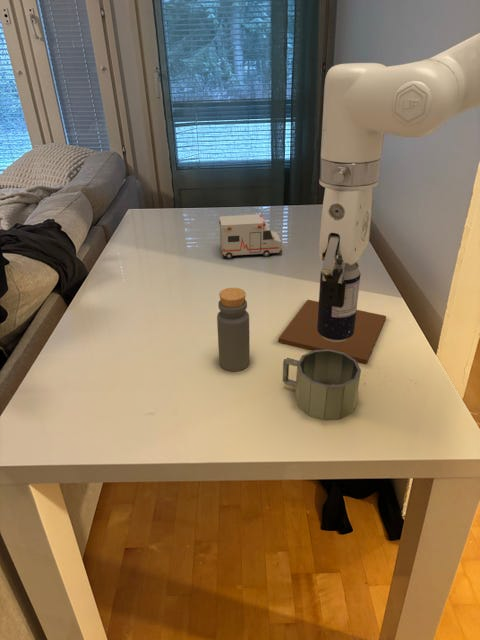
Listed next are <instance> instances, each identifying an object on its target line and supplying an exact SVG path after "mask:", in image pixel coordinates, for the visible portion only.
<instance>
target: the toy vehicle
mask: <svg viewBox="0 0 480 640" xmlns="http://www.w3.org/2000/svg"><path fill="white" fill-rule="evenodd" d="M218 218H219V219H218V223H219V224H218V225H219V240H220V249H221V254H222V257H225V259H227V260H232V258H233V256H244V255H245V256H247V255H248V256H249V255H263V257H265V258H267V257H270V255H271V254H280V253H281V254H282V253H283V249H282V240H281V239H280V236H279V234H278V232H277V231H273V230H271V228H270V226H269V223H268V222H267V220H265V219H264V217H263V215H262V214H259V213H257V214H242V215H241V214H239V215H220V216H219V217H218Z"/></svg>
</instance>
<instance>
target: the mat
mask: <svg viewBox="0 0 480 640" xmlns="http://www.w3.org/2000/svg"><path fill="white" fill-rule="evenodd" d="M318 307H319V301H318V300H317V301H316V300H311V299H307V300H306V301H305V302H304V304H303V305H302V306H301V308H300V309H299V310H298V312H296V314H295V316H294V317H293V318H292V320H291V321H290V322H289V324H288V325H287V326H286V328H285V329H284V330H283V331H282V333H281V334H280V335H279V336H278V343H281V344H283V345H284V344H285V345H289V346H291V347H296V348H299V349H300V348H301V349H305V350H308V351H313V350H325V349H329V350H330V349H331V350H335V351H339V352H343V353H346V354H347V355H349V356H350V357H352V358H353V359H355V360H356V361H357V363H359V364H360V363H361V364H364V365H367V363H368V361H369V359H370V357H371V354H372V353H373V350H374V348H375V345H376V344H377V340H378V338H379V336H380V334H381V332H382V329H383V327H384V325H385V322H386V320H387V315H384V314H379V313H375V312H370V311H364V310H360V309H357V311H356V320H355V329H354V334H353V335H352V336H351V337H349V338H348V339H347V340H345V341H342V342H331V341H328V340H326V339H324V338H323V337H322V336H321V335H320V334H319V333H318V331H317V323H318Z"/></svg>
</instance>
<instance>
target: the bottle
mask: <svg viewBox="0 0 480 640" xmlns="http://www.w3.org/2000/svg"><path fill="white" fill-rule="evenodd" d="M246 296H247V293H246V291H245V290H244V289H242V288H239V287H228V288H223V289H222V290H220V291H219V292H218V297H219V301H218V302H217V303H218V310H219V312H217V315H216V323H217V325H216V326H217V345H218V362H219V366H220V367H221V368H222V369H223V370H226V371H229V372H240V371H242V370H245V369H246V368H247V367H248V366H250V361H251V360H250V359H251V357H250V356H251V355H250V353H251V351H250V349H251V348H250V345H251V343H250V341H251V339H250V314H249V312H248V311H247V309H248V302H247V300H246Z"/></svg>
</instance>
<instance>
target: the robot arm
mask: <svg viewBox="0 0 480 640" xmlns="http://www.w3.org/2000/svg"><path fill="white" fill-rule="evenodd" d="M322 105H323V107H322V125H321V144H320V162H319V180H318V184H319V185H320V186H321V187H323V188H324V194H323V202H322V210H321V220H320V228H319V229H320V230H319V242H318V243H319V244H318V256H319V258H320V260H321V261H323V262H322V267H321V270H322V271H323V278H322V280H323V281H322V296H321V303H322V304H324V305H329V306H334V307H339V308H342V307H343V305H344V298H345V287H346V281H344V276H345V270H346V264H347V263H349V265H353V264H354V263H356V262H357V263H358V260H359V259H360V258H361V256H362V254H363V253H364V251H365V250H366V248H367V247H368V244H369V243H370V234H371V220H372V219H371V218H372V206H373V205H372V204H373V188H376V187H377V186H378V184H379V178H380V168H381V160H382V151H383V144H384V143H383V142H384V135H385V134H388V135H393V136H397V137H401V138H421V137H424V136H427V135H429V134H431V133H433V132H435V131H436V130H437V129H439V128H440V127H441V126H442V125H443V124H444V123H446V122H447V121H448V120H450V119H451V118H454V117H457V116H458V115H461V114H463V113H465V112H467V111H470V110H472V109H474V108H477V107H479V106H480V32H478V33H477V34H475V35H472V36H470V37H469V38H467V39H466V40H463V41H461V42H460V43H457V44H455V45H454V46H451V47H450V48H448V49H446V50H443V51H441V52H440V53H438V54H436V55H433V56H432V57H429V58H426V59H421V60H418V61H413V62H408V63H404V64H397V65H389V66H386V65H385V64H383V63H378V62H350V63H339V64H335V65H333V66H331V67H330V68H329V69H328V71H327V72H326V75H325V78H324V88H323V104H322ZM336 258H342V259H343V260H338V259H336ZM335 264H338V265H341V266H340V272H339V271H338V269H335Z"/></svg>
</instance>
